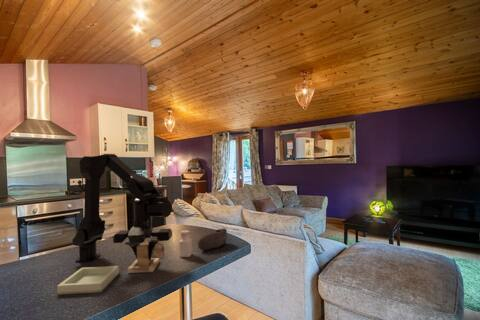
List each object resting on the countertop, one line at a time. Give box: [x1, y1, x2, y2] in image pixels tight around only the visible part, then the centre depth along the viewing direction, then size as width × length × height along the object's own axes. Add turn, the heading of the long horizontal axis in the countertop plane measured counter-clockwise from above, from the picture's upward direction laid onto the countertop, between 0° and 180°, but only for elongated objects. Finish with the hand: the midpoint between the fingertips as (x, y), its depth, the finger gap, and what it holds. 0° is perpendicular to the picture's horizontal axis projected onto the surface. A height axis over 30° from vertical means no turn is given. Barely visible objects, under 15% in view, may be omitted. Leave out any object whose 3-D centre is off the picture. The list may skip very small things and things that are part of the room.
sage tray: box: [56, 265, 120, 296], centre depth 77 cm, size 12×12×2 cm
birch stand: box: [127, 257, 160, 274], centre depth 88 cm, size 8×8×2 cm
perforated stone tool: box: [197, 227, 228, 251], centre depth 106 cm, size 15×5×7 cm, turn 131°
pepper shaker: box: [178, 229, 193, 258], centre depth 97 cm, size 4×4×10 cm
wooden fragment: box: [143, 240, 165, 259], centre depth 105 cm, size 26×11×1 cm, turn 33°
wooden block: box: [136, 243, 151, 266], centre depth 88 cm, size 4×4×8 cm
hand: (144, 260), depth 88 cm, fingers closed on wooden block, 4 cm apart
